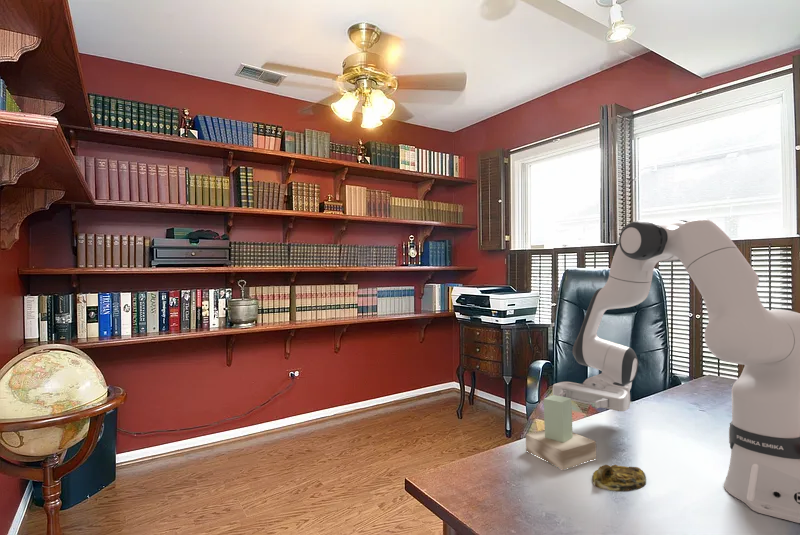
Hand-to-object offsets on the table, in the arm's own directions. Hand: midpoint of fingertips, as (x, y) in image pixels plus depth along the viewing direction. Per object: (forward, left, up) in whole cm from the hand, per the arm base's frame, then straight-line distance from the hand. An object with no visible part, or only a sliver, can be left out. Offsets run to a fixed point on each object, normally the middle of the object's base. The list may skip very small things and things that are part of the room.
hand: (576, 400), depth 116 cm
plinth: (0, +10, -12) cm, 16 cm away
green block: (0, +10, -7) cm, 12 cm away
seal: (-15, +12, -13) cm, 23 cm away
